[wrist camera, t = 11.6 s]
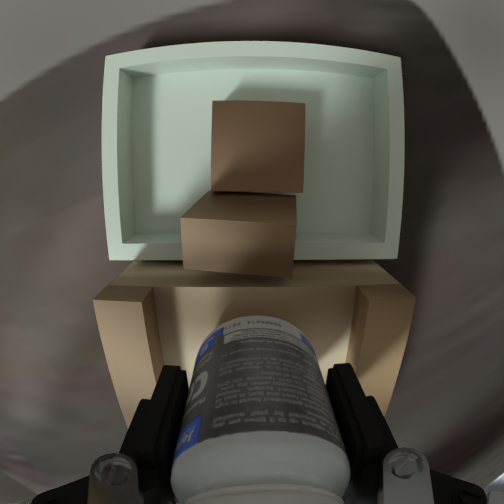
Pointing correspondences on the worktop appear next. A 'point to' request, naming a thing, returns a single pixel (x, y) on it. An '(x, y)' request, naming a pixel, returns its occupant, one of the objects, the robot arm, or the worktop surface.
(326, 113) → the tray
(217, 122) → the walnut chip
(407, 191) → the worktop surface
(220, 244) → the walnut chip
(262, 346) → the pill bottle
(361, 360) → the slot block
